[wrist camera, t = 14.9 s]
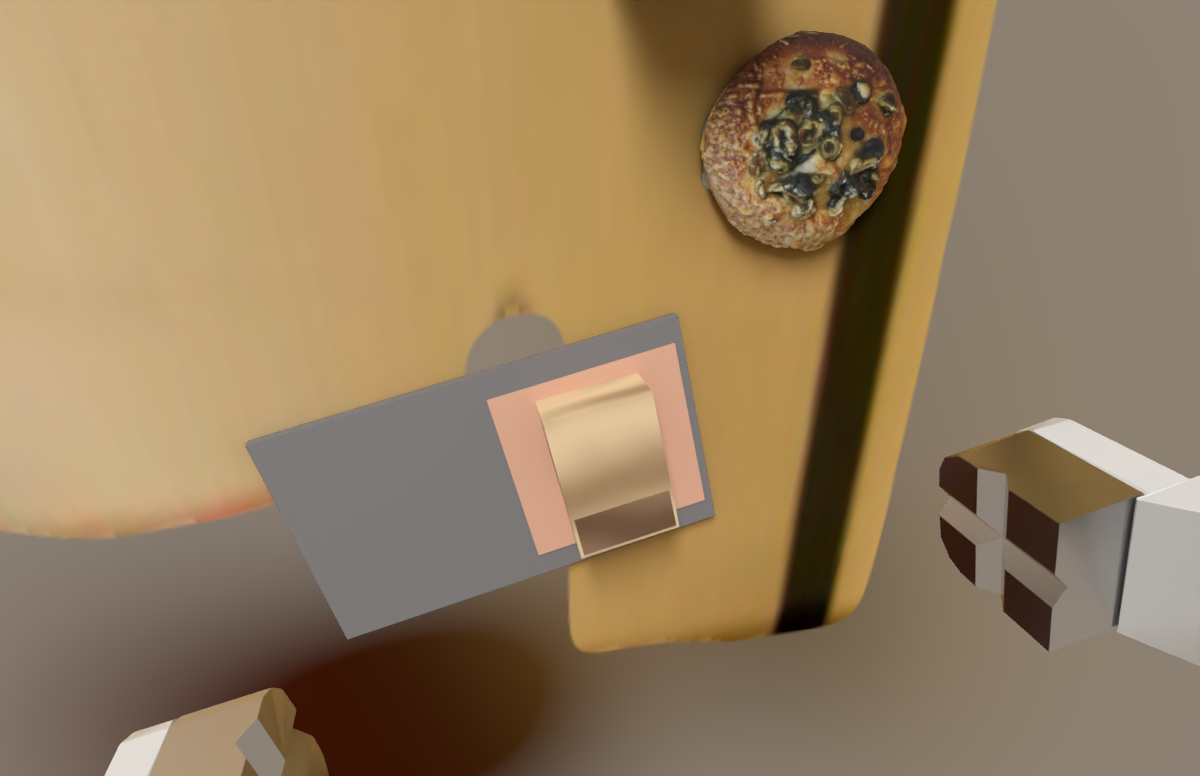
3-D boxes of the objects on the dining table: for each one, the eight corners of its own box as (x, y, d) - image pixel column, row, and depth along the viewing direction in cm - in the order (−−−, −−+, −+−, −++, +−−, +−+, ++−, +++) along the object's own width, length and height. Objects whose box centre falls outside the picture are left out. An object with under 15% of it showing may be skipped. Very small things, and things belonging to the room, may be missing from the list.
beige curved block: (535, 401, 38) (543, 426, 35) (636, 371, 39) (652, 393, 36) (571, 529, 42) (582, 560, 39) (663, 499, 43) (680, 528, 40)
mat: (348, 632, 42) (347, 640, 41) (248, 440, 36) (244, 447, 35) (711, 510, 45) (715, 516, 44) (674, 312, 39) (678, 316, 38)
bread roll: (884, 4, 35) (946, 9, 31) (878, 212, 41) (930, 239, 37) (676, 58, 34) (712, 71, 30) (702, 262, 40) (735, 296, 36)
